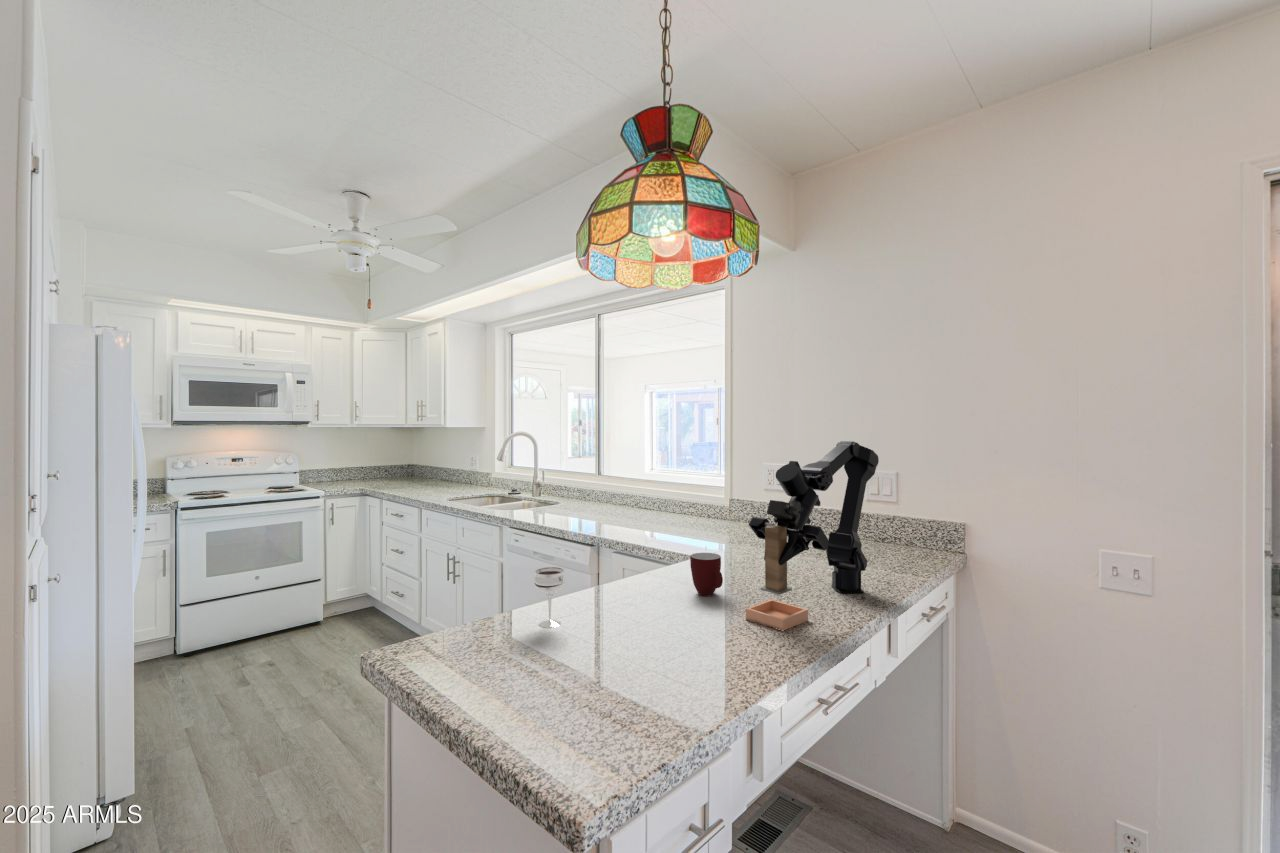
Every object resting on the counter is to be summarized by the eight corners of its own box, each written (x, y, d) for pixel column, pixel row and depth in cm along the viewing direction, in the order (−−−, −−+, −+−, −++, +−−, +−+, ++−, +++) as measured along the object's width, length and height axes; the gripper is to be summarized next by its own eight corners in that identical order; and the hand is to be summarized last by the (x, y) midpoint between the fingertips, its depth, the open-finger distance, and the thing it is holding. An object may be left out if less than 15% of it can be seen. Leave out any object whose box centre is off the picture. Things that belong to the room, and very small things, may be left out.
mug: (734, 596, 143) (734, 558, 142) (712, 602, 138) (712, 563, 138) (705, 587, 151) (705, 551, 151) (684, 592, 146) (684, 555, 146)
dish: (771, 609, 132) (771, 599, 132) (808, 620, 125) (808, 609, 125) (745, 619, 126) (745, 608, 126) (783, 631, 118) (783, 620, 118)
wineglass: (566, 627, 121) (566, 573, 121) (535, 630, 120) (535, 576, 120) (563, 617, 128) (562, 566, 128) (533, 619, 126) (533, 568, 126)
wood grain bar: (773, 585, 129) (773, 524, 129) (791, 590, 125) (791, 527, 125) (760, 589, 126) (760, 527, 126) (779, 594, 122) (778, 530, 122)
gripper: (752, 484, 135) (724, 535, 128) (821, 490, 121) (794, 548, 114) (771, 512, 140) (745, 562, 133) (839, 521, 126) (814, 578, 119)
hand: (772, 562), depth 125 cm, fingers closed on wood grain bar, 3 cm apart
